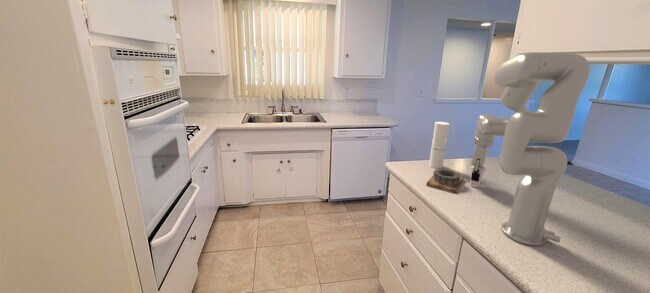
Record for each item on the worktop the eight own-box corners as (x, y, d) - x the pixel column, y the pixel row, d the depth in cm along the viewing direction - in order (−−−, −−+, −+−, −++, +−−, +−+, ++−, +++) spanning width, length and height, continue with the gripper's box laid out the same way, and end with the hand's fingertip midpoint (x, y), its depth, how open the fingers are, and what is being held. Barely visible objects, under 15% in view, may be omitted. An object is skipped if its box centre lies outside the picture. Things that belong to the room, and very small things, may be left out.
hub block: (463, 180, 137) (465, 170, 135) (455, 193, 123) (457, 182, 121) (436, 173, 144) (438, 164, 143) (426, 185, 130) (427, 175, 129)
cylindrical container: (440, 164, 158) (446, 121, 150) (444, 169, 151) (451, 124, 143) (427, 163, 158) (433, 121, 151) (430, 168, 151) (437, 124, 144)
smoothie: (471, 182, 135) (476, 155, 131) (484, 186, 130) (490, 159, 126) (464, 185, 131) (469, 157, 127) (477, 190, 126) (483, 161, 122)
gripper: (477, 136, 133) (470, 170, 138) (470, 144, 119) (463, 182, 125) (494, 139, 129) (487, 174, 134) (490, 148, 115) (482, 186, 121)
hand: (475, 177), depth 129 cm, fingers closed on smoothie, 6 cm apart
